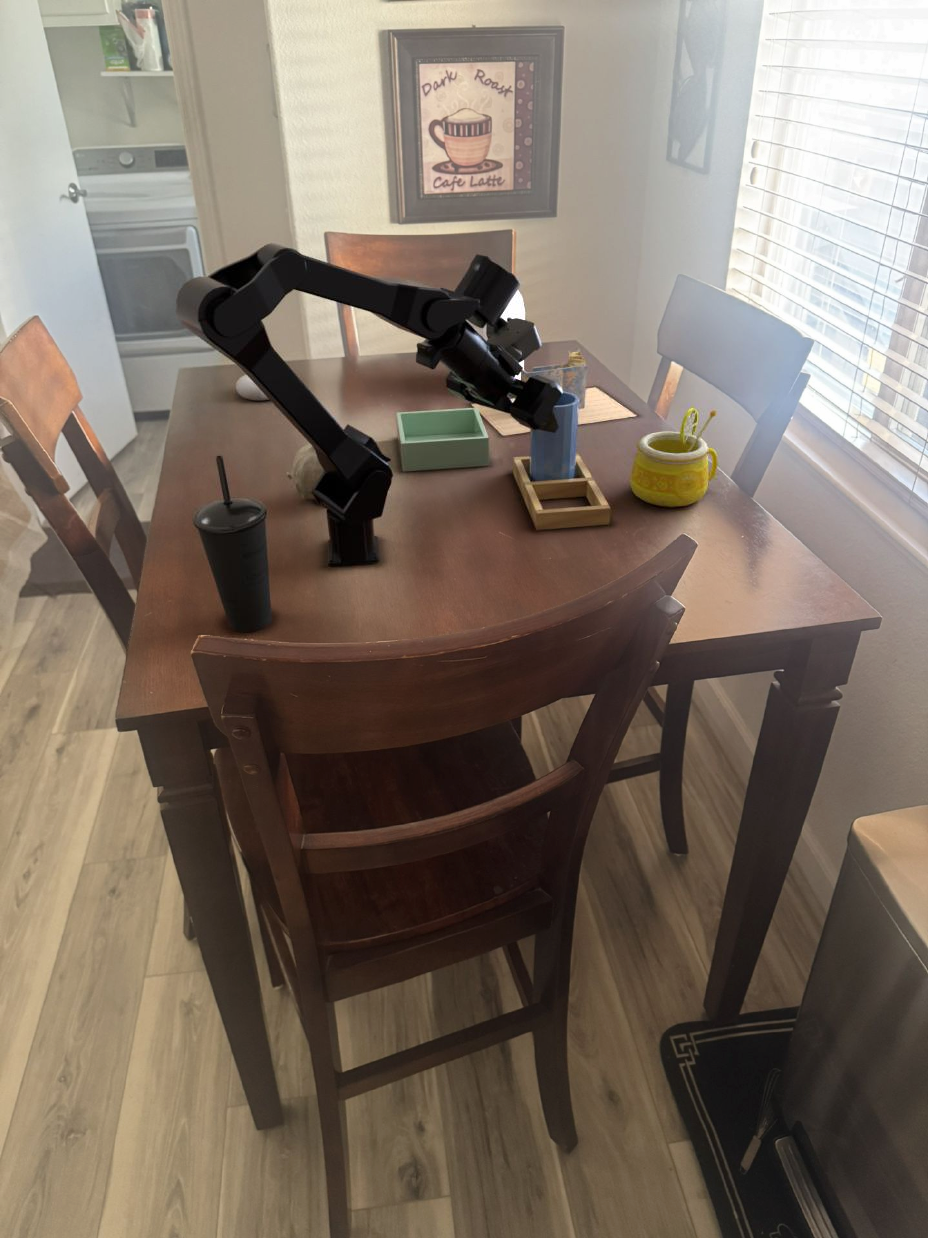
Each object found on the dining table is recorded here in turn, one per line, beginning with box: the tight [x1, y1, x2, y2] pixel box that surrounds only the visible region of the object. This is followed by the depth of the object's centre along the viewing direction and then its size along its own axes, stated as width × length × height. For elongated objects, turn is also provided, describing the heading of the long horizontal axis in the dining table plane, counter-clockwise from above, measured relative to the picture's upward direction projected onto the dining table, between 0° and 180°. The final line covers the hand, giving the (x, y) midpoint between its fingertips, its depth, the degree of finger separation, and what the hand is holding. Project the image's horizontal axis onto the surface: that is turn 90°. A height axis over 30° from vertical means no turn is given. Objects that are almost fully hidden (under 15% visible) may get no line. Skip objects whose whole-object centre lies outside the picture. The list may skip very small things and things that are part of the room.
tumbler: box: [528, 391, 579, 482], centre depth 123 cm, size 7×7×13 cm
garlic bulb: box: [286, 443, 324, 501], centre depth 122 cm, size 9×8×10 cm
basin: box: [395, 407, 490, 472], centre depth 137 cm, size 13×13×5 cm
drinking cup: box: [192, 455, 272, 633], centre depth 92 cm, size 8×8×20 cm
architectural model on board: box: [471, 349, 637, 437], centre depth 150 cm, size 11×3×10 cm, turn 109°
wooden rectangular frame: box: [512, 452, 611, 531], centre depth 123 cm, size 19×10×2 cm, turn 7°
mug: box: [629, 407, 719, 508], centre depth 120 cm, size 13×11×12 cm
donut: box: [235, 374, 270, 402], centre depth 162 cm, size 10×4×10 cm
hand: (534, 420), depth 119 cm, fingers open, 9 cm apart
